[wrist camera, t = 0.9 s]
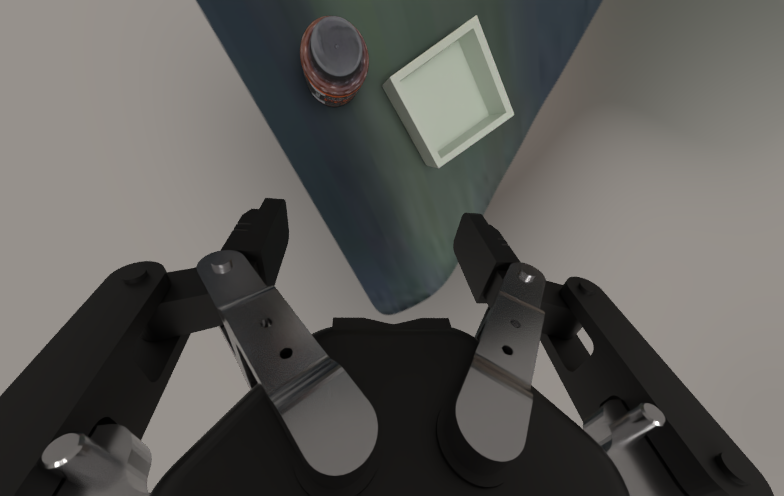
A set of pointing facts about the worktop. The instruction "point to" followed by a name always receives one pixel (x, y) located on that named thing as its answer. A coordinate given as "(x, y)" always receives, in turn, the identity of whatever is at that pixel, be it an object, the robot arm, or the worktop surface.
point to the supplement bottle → (333, 60)
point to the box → (450, 95)
